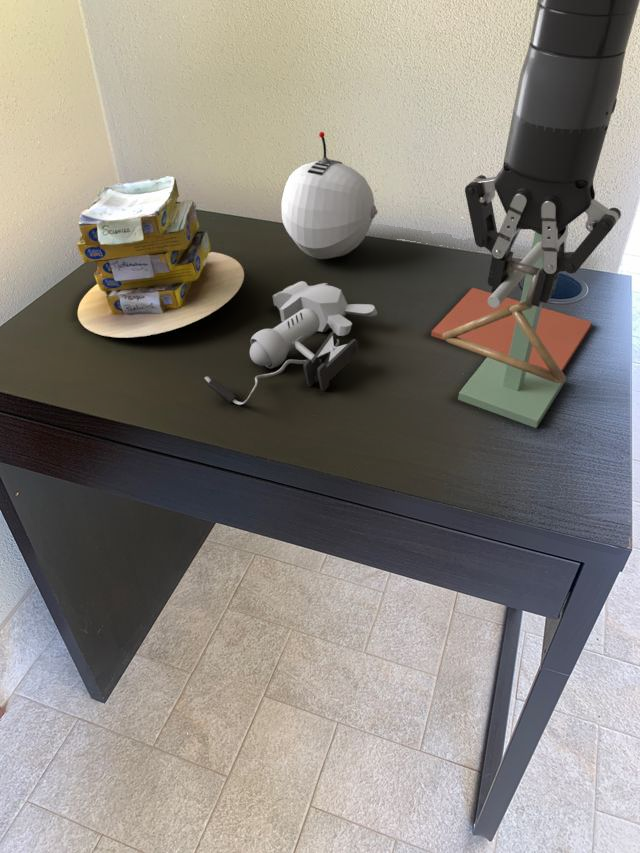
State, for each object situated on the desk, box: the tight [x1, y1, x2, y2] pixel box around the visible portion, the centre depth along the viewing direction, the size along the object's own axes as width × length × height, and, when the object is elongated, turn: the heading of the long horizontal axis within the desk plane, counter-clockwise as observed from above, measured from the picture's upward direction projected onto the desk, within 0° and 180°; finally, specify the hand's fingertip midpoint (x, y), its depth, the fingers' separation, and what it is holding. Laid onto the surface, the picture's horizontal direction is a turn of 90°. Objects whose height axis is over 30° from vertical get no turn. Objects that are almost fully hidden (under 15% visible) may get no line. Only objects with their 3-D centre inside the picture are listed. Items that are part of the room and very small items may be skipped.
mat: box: [431, 287, 593, 372], centre depth 95 cm, size 18×14×1 cm
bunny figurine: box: [272, 280, 378, 337], centre depth 96 cm, size 10×5×15 cm
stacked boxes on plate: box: [76, 175, 245, 339], centre depth 97 cm, size 25×25×17 cm
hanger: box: [442, 259, 567, 384], centre depth 68 cm, size 14×1×11 cm, turn 57°
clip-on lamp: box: [204, 308, 359, 406], centre depth 86 cm, size 12×6×18 cm
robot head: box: [280, 131, 379, 260], centre depth 107 cm, size 16×14×20 cm
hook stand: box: [457, 231, 565, 429], centre depth 75 cm, size 10×19×22 cm, turn 147°
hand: (518, 295), depth 66 cm, fingers closed on hanger, 3 cm apart
